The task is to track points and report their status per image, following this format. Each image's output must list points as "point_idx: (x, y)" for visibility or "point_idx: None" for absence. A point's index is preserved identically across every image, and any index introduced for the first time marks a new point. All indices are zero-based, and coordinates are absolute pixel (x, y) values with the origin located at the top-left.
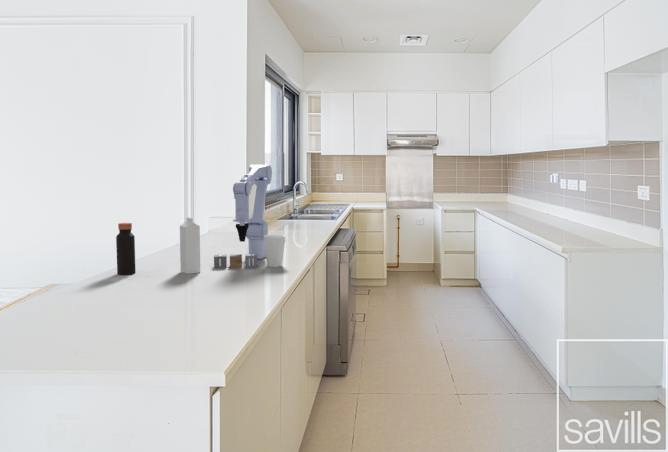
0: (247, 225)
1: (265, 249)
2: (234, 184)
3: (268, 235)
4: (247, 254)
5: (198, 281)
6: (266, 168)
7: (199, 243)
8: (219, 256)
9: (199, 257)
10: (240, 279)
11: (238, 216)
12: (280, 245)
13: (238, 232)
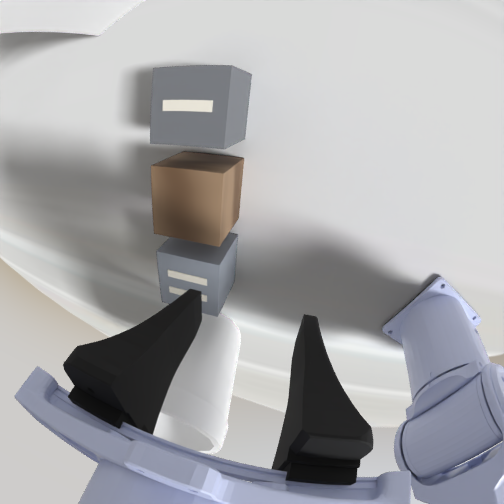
0: (274, 463)
1: None
2: None
3: (202, 431)
4: (210, 274)
5: (11, 77)
6: None
7: None
8: (153, 102)
9: (49, 30)
10: (23, 185)
11: (84, 498)
12: None
13: (129, 330)
